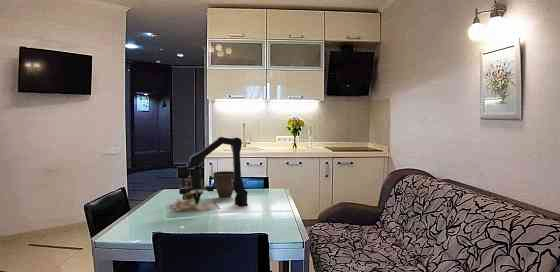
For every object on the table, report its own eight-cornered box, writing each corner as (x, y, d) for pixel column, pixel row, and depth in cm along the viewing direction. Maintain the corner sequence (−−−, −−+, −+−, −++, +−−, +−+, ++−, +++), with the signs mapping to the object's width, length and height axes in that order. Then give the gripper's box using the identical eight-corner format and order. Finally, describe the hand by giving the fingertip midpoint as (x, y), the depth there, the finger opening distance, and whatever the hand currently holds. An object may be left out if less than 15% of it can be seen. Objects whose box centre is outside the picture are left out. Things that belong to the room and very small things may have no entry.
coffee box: (182, 202, 236) (181, 176, 235) (188, 200, 242) (187, 174, 241) (194, 203, 233) (194, 177, 232) (200, 201, 239) (200, 175, 238)
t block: (193, 205, 225) (193, 198, 225) (195, 208, 215) (195, 201, 215) (175, 206, 222) (175, 199, 222) (176, 210, 212) (176, 203, 212)
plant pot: (241, 196, 253) (241, 172, 252) (226, 200, 241) (226, 175, 240) (224, 194, 261) (223, 170, 260) (208, 198, 249) (208, 173, 248)
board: (214, 203, 234) (214, 201, 234) (220, 210, 215) (220, 208, 215) (169, 206, 226) (169, 205, 226) (171, 214, 207) (171, 212, 207)
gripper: (210, 174, 230) (211, 200, 231) (177, 176, 224) (179, 203, 225) (213, 176, 220) (214, 204, 221) (179, 179, 214) (180, 207, 215)
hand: (197, 204), depth 221 cm, fingers closed
